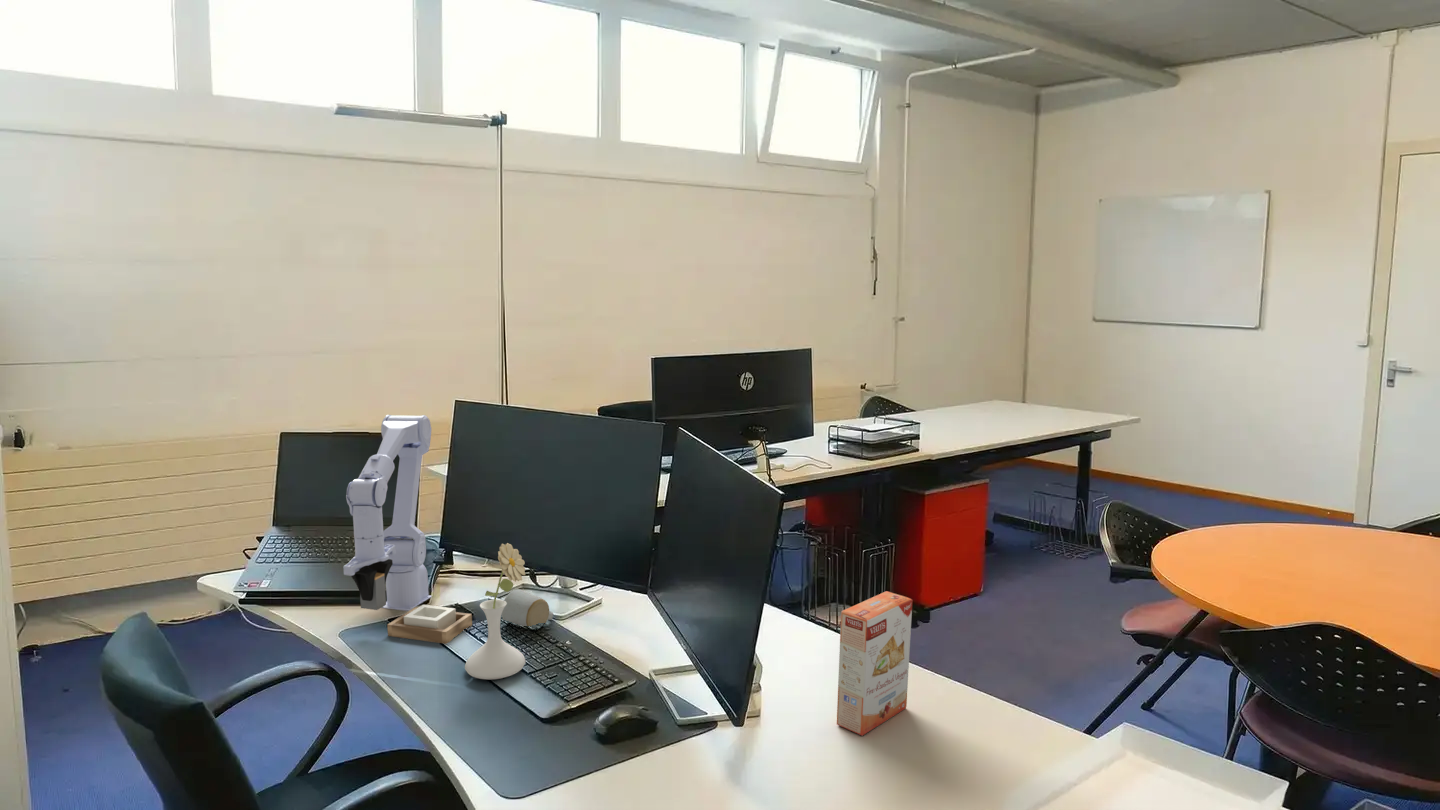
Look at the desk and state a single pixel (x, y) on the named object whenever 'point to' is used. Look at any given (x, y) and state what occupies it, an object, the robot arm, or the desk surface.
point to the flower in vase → (498, 626)
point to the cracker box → (873, 661)
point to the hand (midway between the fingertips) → (372, 596)
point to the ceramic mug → (525, 609)
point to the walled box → (429, 629)
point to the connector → (376, 594)
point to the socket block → (431, 617)
